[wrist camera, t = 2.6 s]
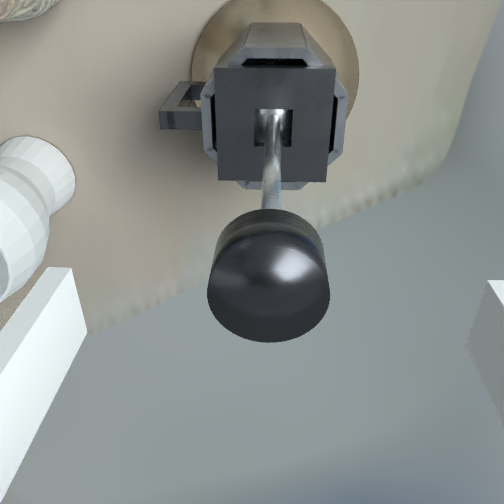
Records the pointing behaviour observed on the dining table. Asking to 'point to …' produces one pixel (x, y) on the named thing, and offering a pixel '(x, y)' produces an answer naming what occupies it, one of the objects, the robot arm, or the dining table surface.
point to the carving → (23, 9)
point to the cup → (28, 205)
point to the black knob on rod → (269, 257)
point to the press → (269, 88)
